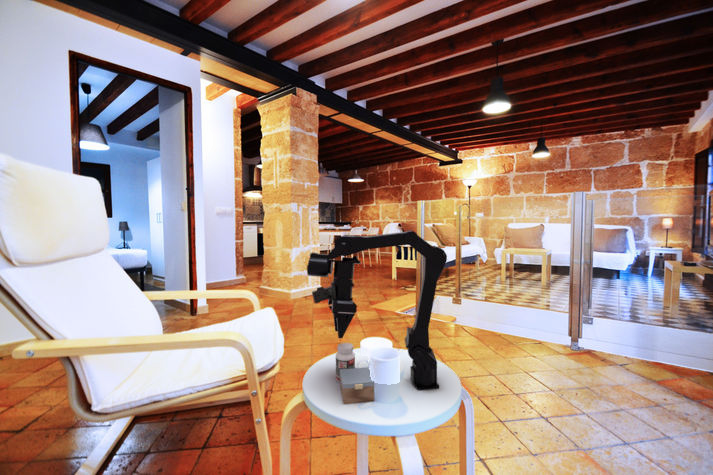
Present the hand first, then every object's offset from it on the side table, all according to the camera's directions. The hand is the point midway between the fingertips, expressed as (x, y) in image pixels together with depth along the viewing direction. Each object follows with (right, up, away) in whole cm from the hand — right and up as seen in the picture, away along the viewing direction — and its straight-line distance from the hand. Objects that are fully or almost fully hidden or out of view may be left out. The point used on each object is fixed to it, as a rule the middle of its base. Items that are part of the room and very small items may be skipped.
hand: (338, 334), depth 85 cm
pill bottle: (+2, -15, +5) cm, 16 cm away
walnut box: (+5, -15, -3) cm, 16 cm away
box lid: (+5, -11, -4) cm, 13 cm away
